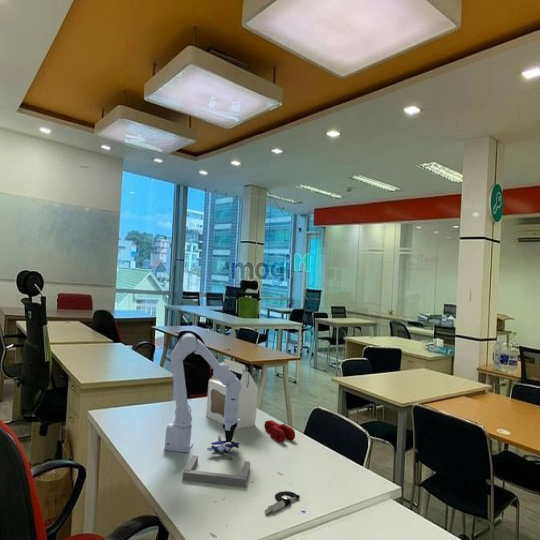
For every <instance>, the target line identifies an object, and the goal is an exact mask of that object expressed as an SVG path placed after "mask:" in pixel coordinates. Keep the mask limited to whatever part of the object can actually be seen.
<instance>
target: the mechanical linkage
mask: <svg viewBox="0 0 540 540" xmlns="http://www.w3.org/2000/svg"><path fill="white" fill-rule="evenodd" d="M263 426H264V430H265V432H266V431H267V432H266V433H268V434H269V435H270V439H272V440H274V441H275V440H276V441H275V442H277V443H279V444H281V443H284V442H285V441H286V440H287V441H288V442H289V441H293V440H294V439H295V437H296V431H295V430H294V428H293V427H291V426H290V425H287V424H285V423H281V424H280V423H278V422H276V421H274V420H272V419H271V420H266V421H264V425H263ZM285 438H286V439H285Z"/></svg>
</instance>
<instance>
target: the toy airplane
mask: <svg viewBox="0 0 540 540" xmlns="http://www.w3.org/2000/svg"><path fill="white" fill-rule="evenodd" d="M210 443H211V446H210V447H207V448H206V449H207V451H214V452H215V453H217V454H219V453H220V451H222V453H224V454H227V455H229V459H230V460H233V459H232V458H233V456H235V457H236V458H238V456H237V455H235V453H234V451H233V448H236V449H239V448H240V445H241V443H240V442H239V441H237V442H235V441H233V440H232V441H231V442H228V441H227V440H226V439H225V440H222V438H221V435H218V438H217V441H214V442H210ZM230 455H231V456H230Z"/></svg>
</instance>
